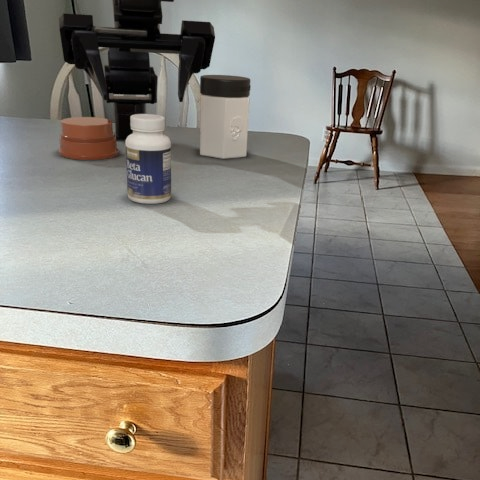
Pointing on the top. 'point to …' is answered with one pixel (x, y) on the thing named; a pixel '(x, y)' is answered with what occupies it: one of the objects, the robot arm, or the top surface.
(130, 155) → the pill bottle
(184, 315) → the top surface
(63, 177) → the top surface
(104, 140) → the cup stack
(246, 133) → the jar
